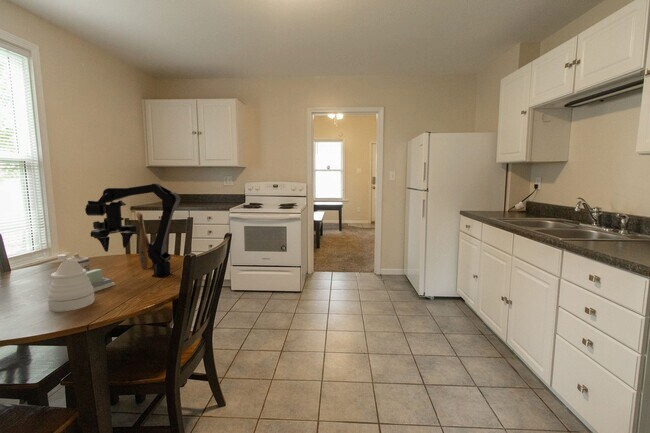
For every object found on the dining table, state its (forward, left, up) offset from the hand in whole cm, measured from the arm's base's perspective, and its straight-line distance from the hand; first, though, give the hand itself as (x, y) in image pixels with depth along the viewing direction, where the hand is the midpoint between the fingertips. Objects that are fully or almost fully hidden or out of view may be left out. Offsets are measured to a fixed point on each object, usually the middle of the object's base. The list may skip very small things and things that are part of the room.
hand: (115, 249), depth 148 cm
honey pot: (-15, +31, -13) cm, 37 cm away
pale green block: (-5, +16, -12) cm, 20 cm away
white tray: (-5, +16, -12) cm, 21 cm away
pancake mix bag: (+3, -19, -13) cm, 23 cm away
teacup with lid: (+13, +8, -13) cm, 20 cm away
